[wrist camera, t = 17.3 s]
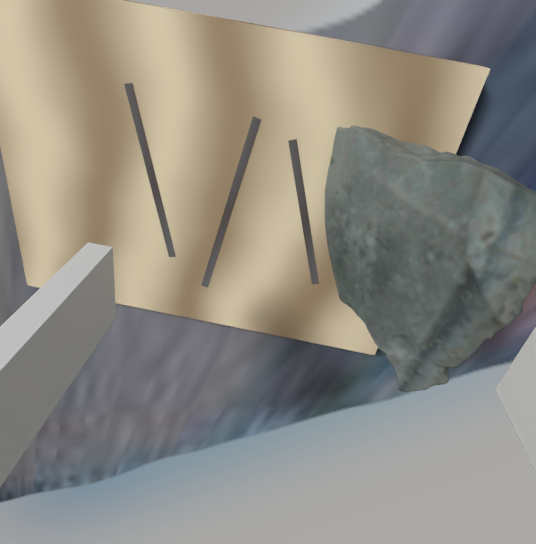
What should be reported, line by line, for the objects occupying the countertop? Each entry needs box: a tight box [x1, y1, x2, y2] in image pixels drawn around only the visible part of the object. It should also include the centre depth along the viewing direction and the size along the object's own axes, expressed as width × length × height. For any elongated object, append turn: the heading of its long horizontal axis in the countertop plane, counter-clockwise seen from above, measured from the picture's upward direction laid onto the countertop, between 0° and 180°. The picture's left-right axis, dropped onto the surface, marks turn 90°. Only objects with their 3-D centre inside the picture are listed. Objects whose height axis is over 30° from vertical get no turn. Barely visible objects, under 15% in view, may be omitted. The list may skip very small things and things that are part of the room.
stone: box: [325, 126, 536, 392], centre depth 18 cm, size 11×4×10 cm
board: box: [0, 0, 490, 355], centre depth 22 cm, size 22×16×2 cm
